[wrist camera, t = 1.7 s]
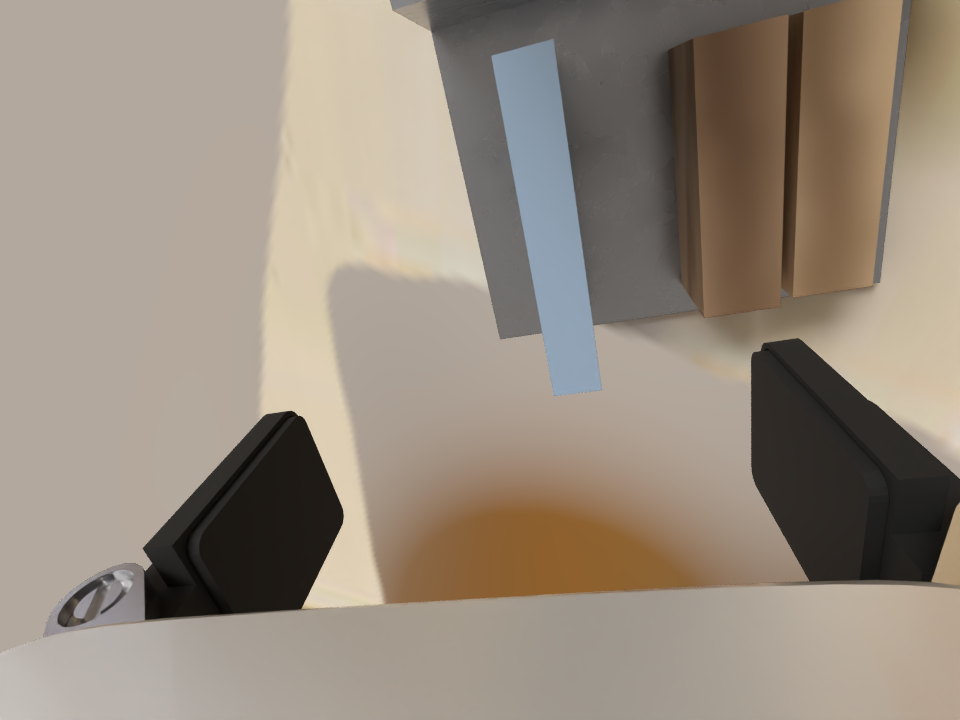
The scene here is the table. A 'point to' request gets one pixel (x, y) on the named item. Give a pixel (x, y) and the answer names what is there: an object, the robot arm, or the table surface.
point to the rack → (593, 137)
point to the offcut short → (836, 142)
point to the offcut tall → (731, 164)
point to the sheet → (548, 212)
